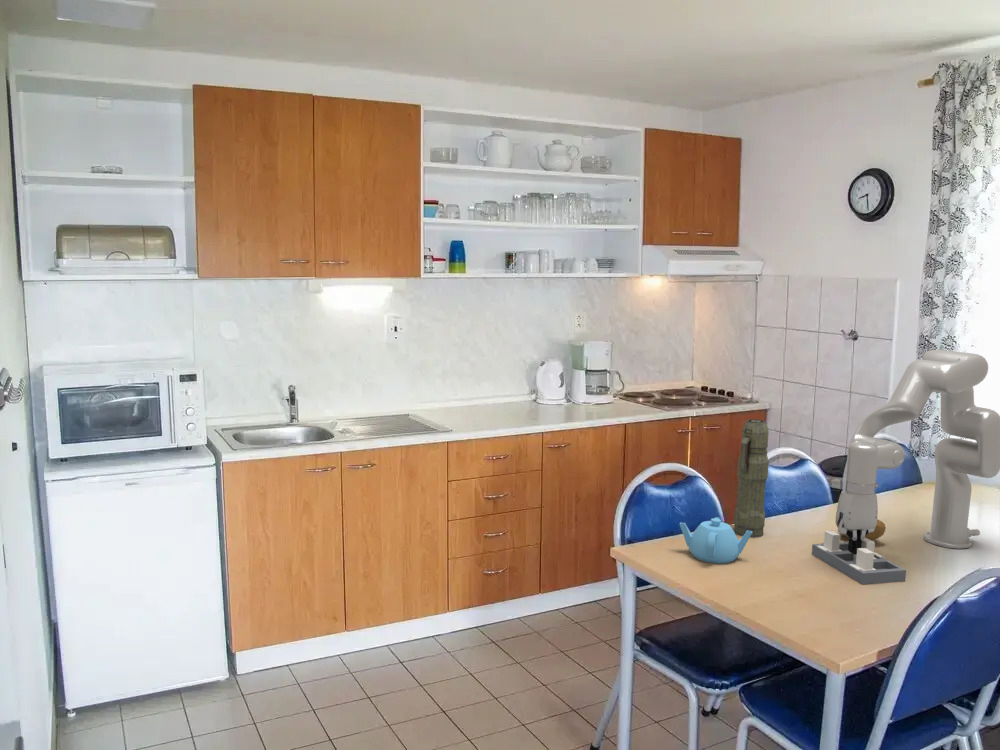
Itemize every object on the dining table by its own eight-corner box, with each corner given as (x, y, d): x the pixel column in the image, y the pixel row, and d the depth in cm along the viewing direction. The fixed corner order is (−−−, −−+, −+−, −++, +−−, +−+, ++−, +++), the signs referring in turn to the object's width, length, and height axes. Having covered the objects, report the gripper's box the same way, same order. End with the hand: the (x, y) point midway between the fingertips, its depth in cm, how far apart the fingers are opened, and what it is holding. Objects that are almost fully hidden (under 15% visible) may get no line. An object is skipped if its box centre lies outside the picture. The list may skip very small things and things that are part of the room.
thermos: (726, 533, 248) (733, 421, 243) (743, 524, 257) (750, 416, 252) (753, 540, 243) (761, 425, 238) (770, 531, 251) (778, 420, 246)
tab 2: (865, 559, 226) (867, 537, 226) (876, 565, 222) (878, 542, 221) (853, 560, 226) (855, 538, 225) (863, 566, 221) (865, 543, 220)
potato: (880, 550, 237) (882, 523, 236) (830, 539, 246) (832, 513, 244) (888, 541, 245) (890, 515, 244) (839, 531, 253) (841, 506, 252)
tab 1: (832, 551, 232) (833, 530, 231) (841, 557, 228) (843, 535, 227) (819, 552, 231) (821, 530, 230) (829, 558, 227) (831, 536, 226)
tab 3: (864, 570, 218) (866, 547, 217) (875, 576, 214) (877, 553, 213) (851, 571, 217) (853, 548, 217) (862, 577, 213) (864, 554, 212)
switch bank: (851, 551, 236) (852, 540, 235) (905, 580, 214) (906, 568, 214) (811, 554, 233) (812, 543, 232) (862, 584, 211) (863, 572, 211)
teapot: (674, 550, 233) (676, 514, 232) (715, 543, 240) (718, 508, 238) (709, 569, 220) (711, 530, 218) (752, 561, 226) (755, 524, 225)
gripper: (874, 482, 225) (868, 546, 228) (826, 485, 222) (821, 549, 225) (893, 490, 218) (887, 556, 221) (844, 492, 215) (838, 559, 217)
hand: (854, 552), depth 223 cm, fingers closed
